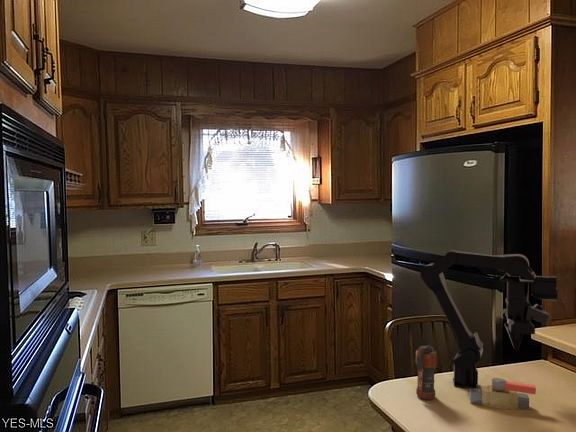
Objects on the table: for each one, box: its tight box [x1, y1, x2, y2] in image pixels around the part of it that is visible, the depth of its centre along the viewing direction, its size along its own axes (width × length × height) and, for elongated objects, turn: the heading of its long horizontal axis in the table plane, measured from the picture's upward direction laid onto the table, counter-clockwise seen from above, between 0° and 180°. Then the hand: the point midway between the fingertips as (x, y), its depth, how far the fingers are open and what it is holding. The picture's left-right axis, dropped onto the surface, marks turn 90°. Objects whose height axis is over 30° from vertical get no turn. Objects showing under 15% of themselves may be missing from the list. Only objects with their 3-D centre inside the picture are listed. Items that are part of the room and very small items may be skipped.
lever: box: [491, 377, 537, 395], centre depth 133 cm, size 11×4×2 cm, turn 67°
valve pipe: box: [469, 384, 530, 411], centre depth 135 cm, size 15×5×4 cm, turn 74°
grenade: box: [415, 345, 438, 401], centre depth 139 cm, size 6×8×15 cm
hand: (516, 349), depth 143 cm, fingers closed
